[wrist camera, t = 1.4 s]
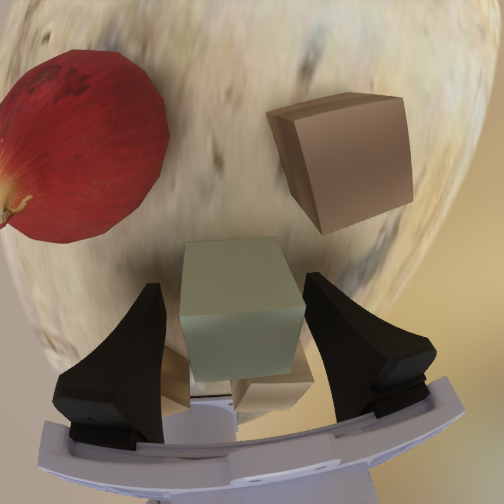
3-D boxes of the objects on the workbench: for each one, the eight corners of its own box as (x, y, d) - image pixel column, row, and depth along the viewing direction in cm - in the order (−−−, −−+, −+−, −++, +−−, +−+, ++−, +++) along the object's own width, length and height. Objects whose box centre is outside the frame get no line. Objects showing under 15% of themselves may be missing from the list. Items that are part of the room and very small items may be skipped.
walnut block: (364, 170, 12) (413, 201, 9) (290, 194, 12) (322, 235, 9) (348, 92, 10) (402, 97, 7) (265, 112, 10) (293, 120, 7)
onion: (39, 121, 8) (-94, 183, 1) (137, 37, 7) (30, -34, 1) (102, 213, 11) (24, 349, 5) (204, 144, 10) (201, 237, 4)
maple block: (277, 366, 20) (289, 410, 17) (228, 364, 19) (234, 412, 16) (297, 334, 18) (314, 381, 15) (241, 330, 17) (251, 383, 14)
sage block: (269, 302, 16) (290, 372, 12) (194, 307, 15) (195, 382, 11) (275, 236, 14) (306, 306, 9) (185, 241, 13) (179, 316, 9)
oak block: (189, 360, 18) (190, 409, 15) (153, 377, 19) (151, 421, 15) (147, 332, 16) (140, 384, 13) (113, 352, 17) (104, 399, 13)
